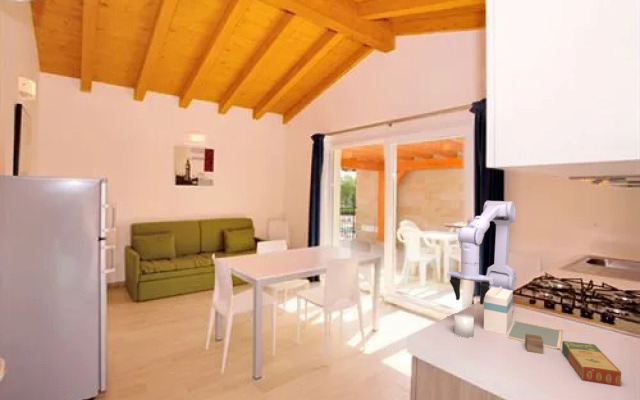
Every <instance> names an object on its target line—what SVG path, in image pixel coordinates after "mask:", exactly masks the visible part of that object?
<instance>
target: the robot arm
mask: <svg viewBox="0 0 640 400" xmlns="http://www.w3.org/2000/svg"><path fill="white" fill-rule="evenodd" d="M482 211H483V212H481V214H480V215H476V216H475V217H474V218H473V219H472V220H471V221H470V222H469V223H468V225H466V226H462V227H461V228H460V229H459V231H458V232H457V233H458V234H457V240H458V243H459V248H460V251H461V252H460V271H450V270H449V271H447V278H448V279H450V280H449V283H450V285H451V287H452V289H453V291H454V294H455V300H456V301H459V300H460V299H461V280H462V281H464V280H465V281H470V282H471V281H472V282H477V283H480V284H479V292H480V295H479V297H480V298H479V304H480V305H484V298H485V295H486V293H487V292H488V291H489V289H490V288H491V287H493V288H499V287H500V286H501V287H502V289H506V290H512V291H513V292H514V291H515V290H516V287H517V282H518V280H517V272H516V270H515V269H514V268H512V267H511V266H510V265H509V258H510V257H509V255H510V235H511V233H510V232H511V224H513V223H515V222H516V221H515V220H516V212H517V211H516V205H515V203H514V201H512V200H511V201H509V200H508V201H505V200H504V201H502V200H486V201H485V202H484V205H483V210H482ZM490 222H494V224H495V239H494V240H495V242H494V243H495V244H494V261H493V262H494V263H493V264H492V265H490V266H488V267H487V270H486V274H485V275H483V274H480V245H481V244H482V243H483V239H484V237H485V233H486V232H487V231H488V229H489V228H490V225H491V224H490ZM514 310H515V308H514V307H512V313H513V312H514Z"/></svg>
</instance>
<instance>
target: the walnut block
mask: <svg viewBox="0 0 640 400" xmlns="http://www.w3.org/2000/svg"><path fill="white" fill-rule="evenodd" d="M524 346H525V350H526V351H527V352H529V353H533V354H540V355H543V354H544V346H543V340H542V338H541V336H539V335H532V334H525V342H524Z"/></svg>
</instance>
